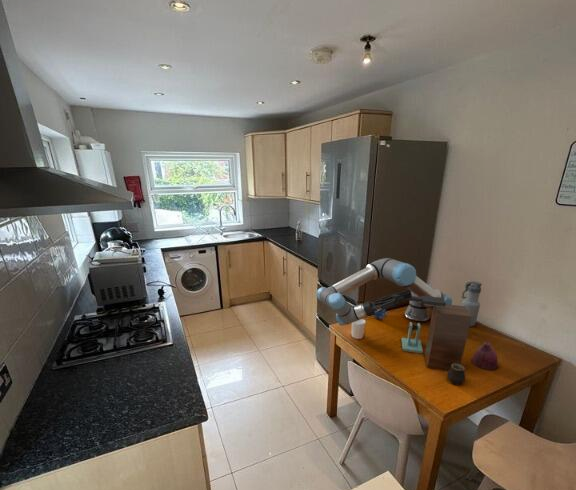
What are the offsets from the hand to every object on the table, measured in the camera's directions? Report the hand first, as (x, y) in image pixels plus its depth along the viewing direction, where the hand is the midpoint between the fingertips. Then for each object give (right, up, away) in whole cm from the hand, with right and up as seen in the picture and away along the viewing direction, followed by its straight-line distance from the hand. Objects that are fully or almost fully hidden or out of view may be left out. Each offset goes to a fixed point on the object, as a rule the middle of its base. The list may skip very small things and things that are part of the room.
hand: (410, 293), depth 146 cm
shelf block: (+18, -36, +7) cm, 41 cm away
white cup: (-18, -26, +33) cm, 46 cm away
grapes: (-1, -18, +55) cm, 58 cm away
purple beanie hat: (+40, -36, +7) cm, 54 cm away
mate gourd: (+18, -41, -6) cm, 45 cm away
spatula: (+4, -4, 0) cm, 5 cm away
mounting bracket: (+10, -30, +22) cm, 39 cm away
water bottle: (+56, -21, +49) cm, 78 cm away
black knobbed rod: (+11, -21, +24) cm, 34 cm away
